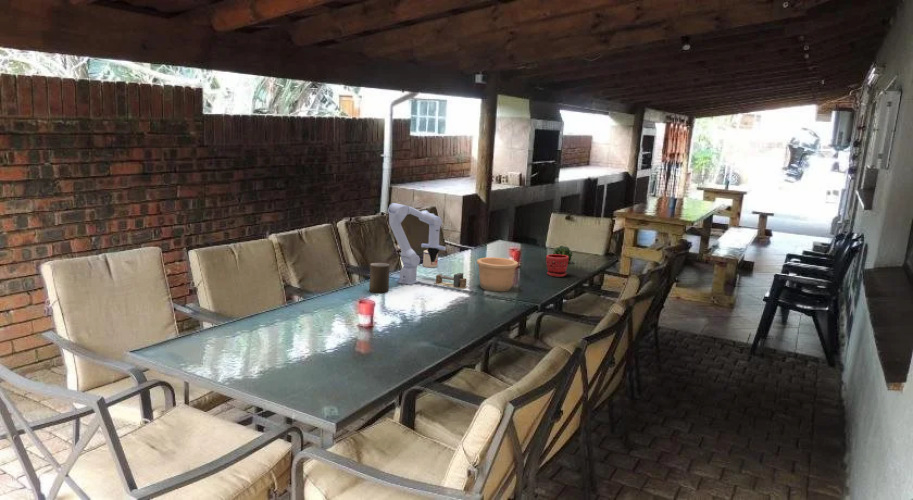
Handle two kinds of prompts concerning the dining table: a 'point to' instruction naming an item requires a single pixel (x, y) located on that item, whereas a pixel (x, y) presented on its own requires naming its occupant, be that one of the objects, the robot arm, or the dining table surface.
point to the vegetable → (563, 252)
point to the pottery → (496, 273)
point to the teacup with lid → (429, 260)
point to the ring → (457, 279)
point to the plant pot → (557, 265)
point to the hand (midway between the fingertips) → (432, 261)
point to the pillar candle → (379, 277)
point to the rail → (439, 282)
